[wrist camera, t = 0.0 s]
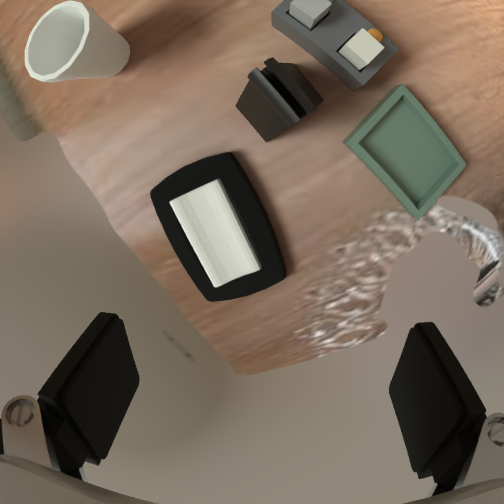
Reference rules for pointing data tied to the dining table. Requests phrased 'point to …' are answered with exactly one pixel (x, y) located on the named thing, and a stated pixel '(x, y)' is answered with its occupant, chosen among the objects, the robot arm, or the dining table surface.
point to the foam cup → (74, 45)
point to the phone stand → (276, 98)
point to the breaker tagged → (361, 49)
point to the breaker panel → (334, 40)
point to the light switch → (219, 228)
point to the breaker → (309, 11)
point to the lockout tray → (406, 151)
